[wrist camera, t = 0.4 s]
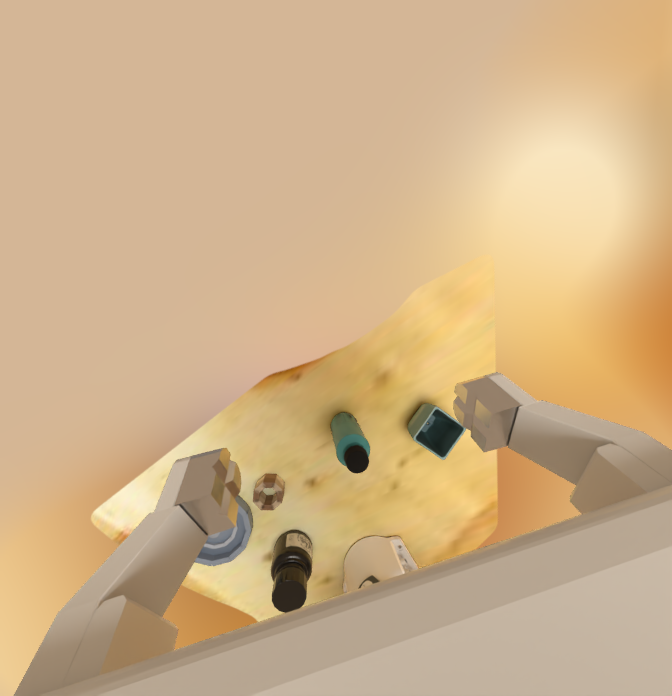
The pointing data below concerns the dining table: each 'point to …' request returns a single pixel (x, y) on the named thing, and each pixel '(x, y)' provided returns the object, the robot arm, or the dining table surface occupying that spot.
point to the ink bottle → (291, 570)
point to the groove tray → (228, 539)
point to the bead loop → (268, 500)
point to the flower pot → (435, 430)
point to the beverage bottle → (350, 442)
